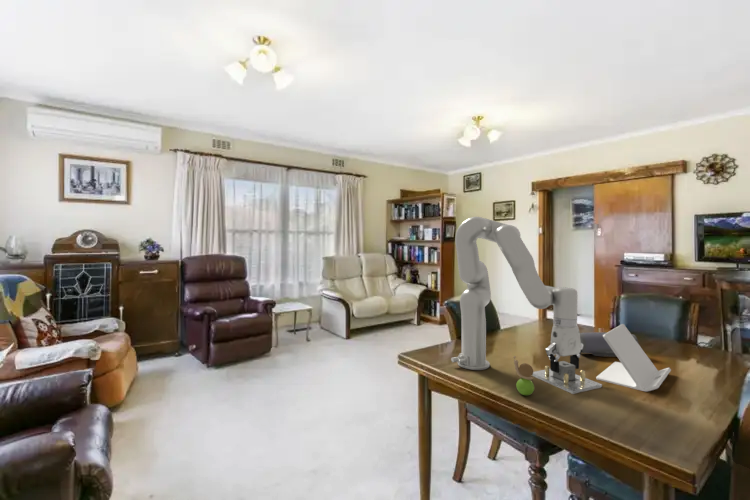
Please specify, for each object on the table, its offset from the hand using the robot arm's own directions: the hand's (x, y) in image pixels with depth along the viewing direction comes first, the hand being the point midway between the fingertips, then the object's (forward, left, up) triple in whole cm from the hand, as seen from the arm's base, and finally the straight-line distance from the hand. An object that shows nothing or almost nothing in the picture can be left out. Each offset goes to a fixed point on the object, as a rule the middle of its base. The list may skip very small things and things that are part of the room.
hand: (564, 369), depth 129 cm
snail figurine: (-22, -3, -4) cm, 23 cm away
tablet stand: (+27, -7, -5) cm, 28 cm away
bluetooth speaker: (+41, +14, -4) cm, 44 cm away
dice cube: (0, 0, -3) cm, 3 cm away
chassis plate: (0, 0, -4) cm, 4 cm away
